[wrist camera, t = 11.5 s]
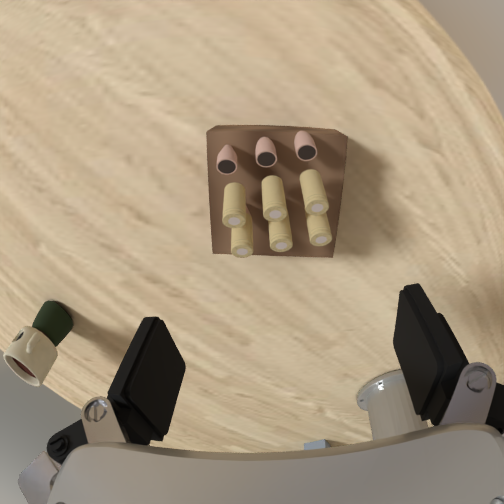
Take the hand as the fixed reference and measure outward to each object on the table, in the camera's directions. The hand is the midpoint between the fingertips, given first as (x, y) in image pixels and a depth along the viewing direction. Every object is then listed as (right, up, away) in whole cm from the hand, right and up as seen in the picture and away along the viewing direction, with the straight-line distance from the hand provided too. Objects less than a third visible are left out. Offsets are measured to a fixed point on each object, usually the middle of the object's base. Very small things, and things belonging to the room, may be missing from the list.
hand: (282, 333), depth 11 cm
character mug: (-33, -7, +29) cm, 44 cm away
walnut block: (+1, +10, +17) cm, 20 cm away
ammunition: (0, +9, +13) cm, 15 cm away
